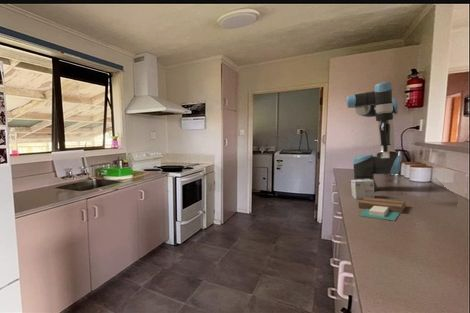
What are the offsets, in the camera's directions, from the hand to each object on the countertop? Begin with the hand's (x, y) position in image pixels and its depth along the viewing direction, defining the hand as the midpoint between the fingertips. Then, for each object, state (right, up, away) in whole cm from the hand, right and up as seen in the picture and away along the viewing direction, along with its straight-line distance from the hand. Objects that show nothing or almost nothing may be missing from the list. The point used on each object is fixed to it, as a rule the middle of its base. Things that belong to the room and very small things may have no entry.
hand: (386, 157), depth 123 cm
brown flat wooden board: (-5, -25, -5) cm, 26 cm away
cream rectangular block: (-12, -26, -13) cm, 32 cm away
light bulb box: (-4, -24, +16) cm, 29 cm away
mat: (-13, -26, -15) cm, 33 cm away
